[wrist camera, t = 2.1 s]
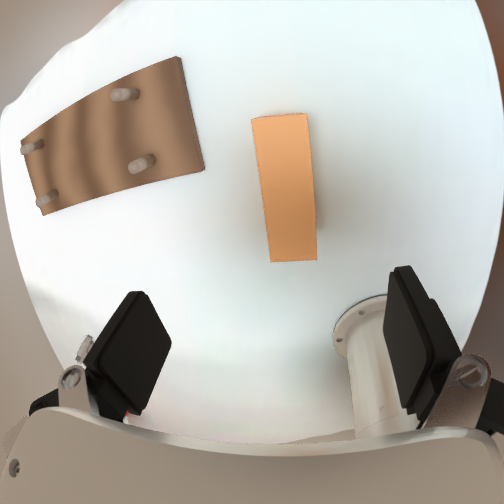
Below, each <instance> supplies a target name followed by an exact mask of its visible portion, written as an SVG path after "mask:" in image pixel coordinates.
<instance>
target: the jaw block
mask: <svg viewBox="0 0 504 504" xmlns="http://www.w3.org/2000/svg"><path fill="white" fill-rule="evenodd" d="M251 122H252V129H253V135H254V142H255V149H256V156H257V163H258V170H259V177H260V184H261V191H262V199H263V206H264V213H265V221H266V229H267V236H268V244H269V252H270V260H271V262H285V261H302V260H317V243H316V218H315V200H314V185H313V172H312V160H311V149H310V139H309V129H308V120H307V114H304V113H297V114H285V115H274V116H265V117H258V118H255V119H251Z"/></svg>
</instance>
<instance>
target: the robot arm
mask: <svg viewBox="0 0 504 504" xmlns="http://www.w3.org/2000/svg"><path fill="white" fill-rule="evenodd" d="M333 341H334V346H335V349H336V351H337V352H338V353H339V354H340V355H341V356H342V357H343V358H345V359H347V360H348V368H349V376H350V384H351V393H352V403H353V414H354V426H355V440H347V441H338V442H327V443H313V444H248V443H233V442H222V441H213V440H204V439H197V438H190V437H184V436H178V435H173V434H168V433H163V432H158V431H153V430H149V429H144V428H140V427H136V426H132V425H129V422H128V419H127V416H126V413H127V411H128V412H129V413H131V414H135V415H139V416H140V415H141V412H142V410H144V409H145V408H146V406H147V403H148V401H149V398H150V396H151V393H152V391H153V389H154V386H155V384H156V381H157V379H158V376H159V374H160V372H161V369H162V367H163V365H164V362H165V360H166V357H167V355H168V353H169V350H170V348H171V344H172V343H171V339H170V337H169V335H168V333H167V331H166V329H165V328H164V326H163V324H162V322H161V320H160V318H159V316H158V314H157V312H156V310H155V308H154V306H153V304H152V303H151V301H150V298H149V297H148V295H146V294H145V293H144V292H143V291H131V292H129V293H128V294H127V296H126V297H125V298H124V300H123V301H122V303H121V304H120V305H119V307H118V308H117V310H116V311H115V313H114V314H113V316H112V317H111V319H110V320H109V321H108V323H107V324H106V326H105V327H104V329H103V330H102V332H101V333H100V335H99V337H98V338H97V340H96V341H95V343H94V344H93V346H92V347H91V349H90V351H89V352H88V354H87V355H86V357H85V359H84V360H83V363H84V365H85V366H86V369H85V370H84V368H83V367H82V366H79V365H74V366H71V367H69V368H67V369H66V370H65V371H64V372H63V373H62V375H61V376H60V378H59V382H58V388H57V389H55V390H54V391H52V392H50V393H48V394H46V395H44V396H42V397H40V398H38V399H37V400H35V401H34V402H33V403H32V404H31V406H30V410H29V415H28V414H27V415H26V416H25V417H24V418H23V419H22V420H20V421H19V422H18V423H17V424H16V425H15V426H14V427H13V428H12V429H11V430H10V431H9V432H7V434H6V435H5V437H4V441H3V445H4V449H5V453H6V456H7V459H8V460H7V462H6V465H5V468H4V470H3V473H2V476H1V479H0V504H504V383H502V382H500V381H498V380H495V379H493V378H491V374H492V373H491V368H490V366H489V364H488V362H487V361H486V360H485V359H484V358H483V357H481V356H479V355H477V354H472V353H471V354H464V355H462V354H461V351H460V349H459V347H458V345H457V343H456V340H455V338H454V336H453V334H452V332H451V330H450V328H449V326H448V324H447V322H446V320H445V318H444V316H443V314H442V312H441V310H440V308H439V307H438V305H437V303H436V301H435V300H434V299H432V298H431V299H429V297H428V295H427V293H426V291H425V290H424V288H423V286H422V284H421V282H420V281H419V279H418V277H417V276H416V274H415V272H414V270H413V269H412V267H411V266H409V265H408V266H401V267H396V268H395V269H394V272H390V275H389V284H388V293H387V295H386V296H379V297H374V298H371V299H368V300H365V301H363V302H361V303H359V304H357V305H356V306H354V307H352V308H351V309H350V310H348V311H347V312H346V313H345V314H344V315H343V316H342V317H341V318H340V319H339V321H338V323H337V324H336V326H335V329H334V332H333Z"/></svg>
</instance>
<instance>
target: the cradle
mask: <svg viewBox="0 0 504 504" xmlns="http://www.w3.org/2000/svg"><path fill="white" fill-rule="evenodd" d="M21 145H22V146H21V149H20V151H21V154H22V155H24V158H25V162H26V165H27V169H28V173H29V176H30V179H31V183H32V186H33V189H34V192H35V195H36V198H37V199H36V205H37V207H39V208H40V210H41V212H42V215H43V216H44V215H47V214H50V213H52V212H55V211H58V210H61V209H64V208H67V207H70V206H73V205H76V204H79V203H82V202H85V201H88V200H91V199H95V198H98V197H101V196H104V195H108V194H111V193H115V192H118V191H122V190H126V189H129V188H133V187H137V186H141V185H144V184H148V183H153V182H157V181H161V180H165V179H169V178H174V177H178V176H183V175H187V174H192V173H197V172H202V171H203V170H204V169H205V167H204V163H203V159H202V154H201V150H200V146H199V142H198V137H197V133H196V128H195V124H194V119H193V115H192V110H191V106H190V101H189V97H188V92H187V87H186V83H185V78H184V73H183V68H182V63H181V58H179V57H177V56H175V57H172V58H169V59H166V60H163V61H161V62H158V63H155V64H153V65H150V66H148V67H145V68H143V69H141V70H138V71H136V72H134V73H131V74H129V75H127V76H125V77H123V78H120V79H118V80H116V81H114V82H112V83H110V84H108V85H106V86H104V87H102V88H100V89H99V90H97V91H95V92H93V93H91V94H89V95H88V96H86V97H84V98H82V99H81V100H79V101H77V102H76V103H74V104H72V105H71V106H69V107H67V108H66V109H64V110H63V111H61V112H60V113H58V114H57V115H55V116H54V117H52V118H51V119H49V120H48V121H46V122H45V123H43V124H42V125H41V126H39V127H38V128H37V129H35V130H34V131H33V132H31V133H30V134H29V135H27V136H26V137H25V138H24V139H22V140H21Z"/></svg>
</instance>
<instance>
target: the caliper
mask: <svg viewBox="0 0 504 504" xmlns="http://www.w3.org/2000/svg"><path fill="white" fill-rule="evenodd" d="M91 339H92V337H90V336H87V337H86V338H85V340H84V341H83V343H82V344H81V346H80V348H79V350H78V352H77V357H76V359H75V360H76V361H77V363H79V364H82V363H83V360H84V359H85V357H86V355H87V354H88V352H89V351H90V349H91V347H92V346H93V341H91ZM83 364H84V363H83ZM84 366H85V365H84ZM85 367H86V366H85Z"/></svg>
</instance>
